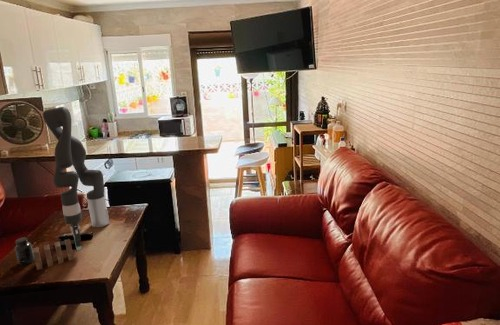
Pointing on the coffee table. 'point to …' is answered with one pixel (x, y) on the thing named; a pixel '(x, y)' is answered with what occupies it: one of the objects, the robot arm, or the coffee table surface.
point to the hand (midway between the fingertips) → (78, 243)
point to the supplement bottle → (24, 251)
